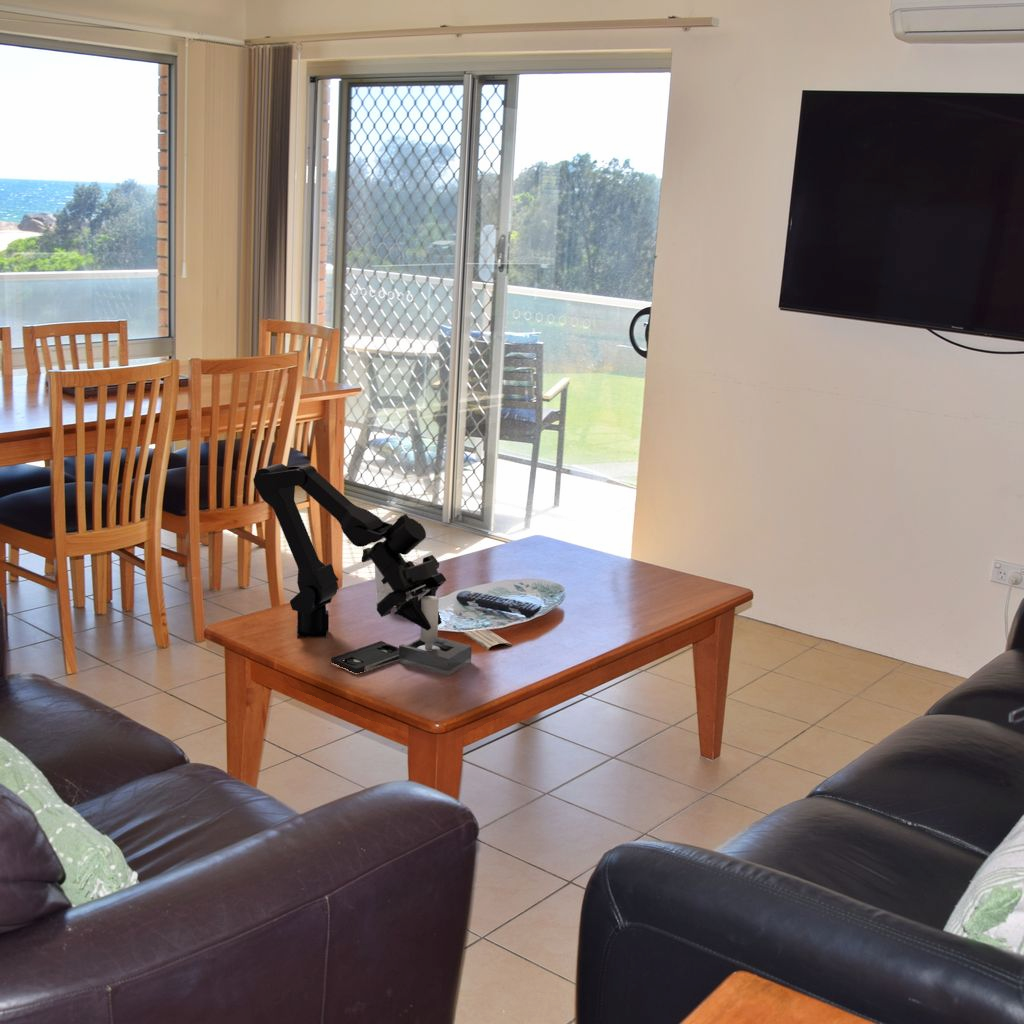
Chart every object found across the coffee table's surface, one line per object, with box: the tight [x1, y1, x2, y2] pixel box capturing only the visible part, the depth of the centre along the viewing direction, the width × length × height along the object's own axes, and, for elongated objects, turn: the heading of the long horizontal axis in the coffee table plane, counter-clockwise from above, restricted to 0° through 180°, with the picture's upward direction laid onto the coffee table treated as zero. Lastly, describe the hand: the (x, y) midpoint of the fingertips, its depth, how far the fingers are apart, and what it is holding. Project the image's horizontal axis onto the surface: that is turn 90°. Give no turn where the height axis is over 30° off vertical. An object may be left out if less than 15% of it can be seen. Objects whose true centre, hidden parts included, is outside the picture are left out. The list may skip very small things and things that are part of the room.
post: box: [418, 596, 440, 651], centre depth 251 cm, size 5×5×12 cm
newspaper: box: [462, 629, 513, 651], centre depth 272 cm, size 24×7×2 cm, turn 32°
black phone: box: [330, 640, 399, 673], centre depth 252 cm, size 14×8×2 cm, turn 139°
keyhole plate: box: [398, 636, 473, 677], centre depth 252 cm, size 12×9×4 cm
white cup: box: [374, 564, 396, 608], centre depth 286 cm, size 8×8×10 cm
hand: (434, 626), depth 250 cm, fingers closed on post, 4 cm apart
